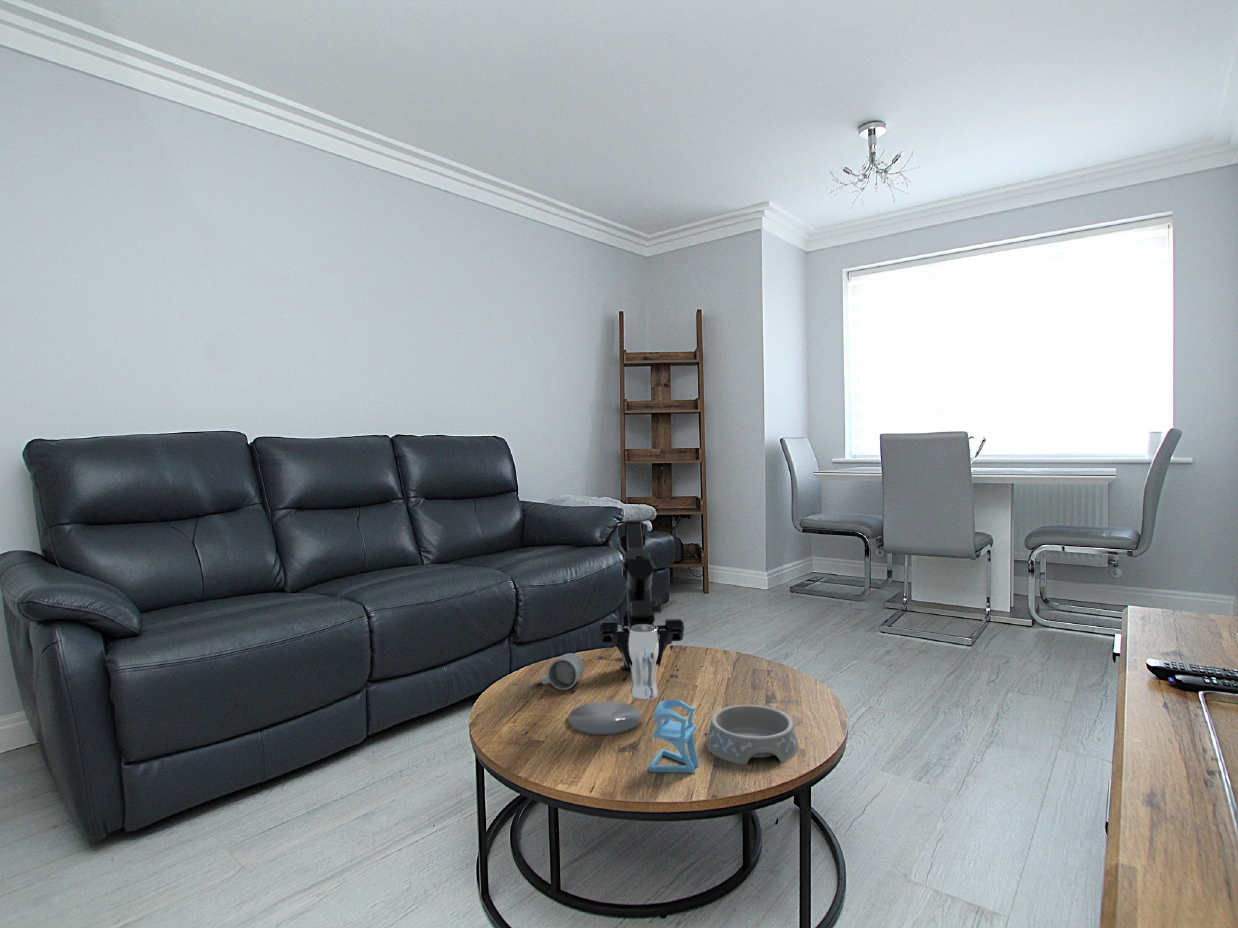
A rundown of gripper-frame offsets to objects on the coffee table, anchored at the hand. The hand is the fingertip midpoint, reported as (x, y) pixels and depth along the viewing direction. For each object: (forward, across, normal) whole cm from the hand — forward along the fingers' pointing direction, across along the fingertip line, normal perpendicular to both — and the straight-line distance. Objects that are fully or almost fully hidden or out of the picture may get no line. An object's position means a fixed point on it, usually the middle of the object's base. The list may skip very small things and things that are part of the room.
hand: (643, 666), depth 149 cm
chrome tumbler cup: (+4, 0, +6) cm, 7 cm away
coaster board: (+8, -9, +10) cm, 15 cm away
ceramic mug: (-8, -20, +27) cm, 34 cm away
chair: (+23, +4, -6) cm, 24 cm away
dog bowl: (+18, +21, 0) cm, 27 cm away
